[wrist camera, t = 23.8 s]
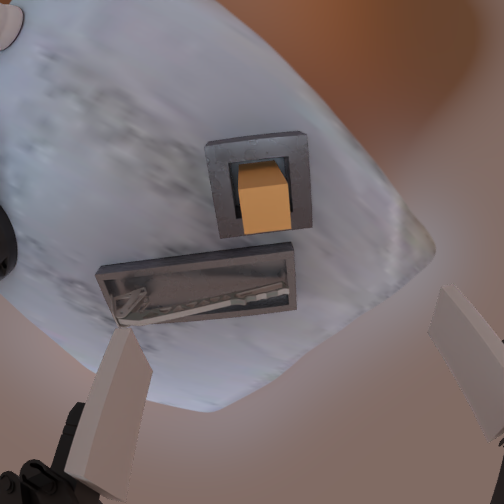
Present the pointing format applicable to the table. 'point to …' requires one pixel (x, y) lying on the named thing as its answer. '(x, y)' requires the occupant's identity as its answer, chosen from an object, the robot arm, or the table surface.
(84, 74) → the table surface
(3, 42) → the water bottle
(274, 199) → the tan rectangular block
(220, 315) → the tray
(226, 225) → the socket
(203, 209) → the table surface
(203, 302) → the bracket
